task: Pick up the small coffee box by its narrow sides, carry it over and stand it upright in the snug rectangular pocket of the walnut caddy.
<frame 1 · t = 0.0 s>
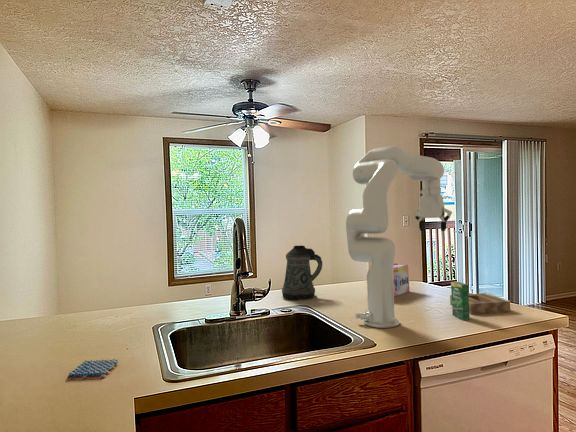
hand: (432, 230, 175), 31 cm above the worktop, tool pointing down, fingers open, 9 cm apart
gum box: (390, 295, 191), on the worktop
walnut caddy: (479, 308, 160), on the worktop
beer stein: (301, 296, 194), on the worktop
woven mat: (94, 374, 109), on the worktop
coffee box: (460, 318, 148), on the worktop
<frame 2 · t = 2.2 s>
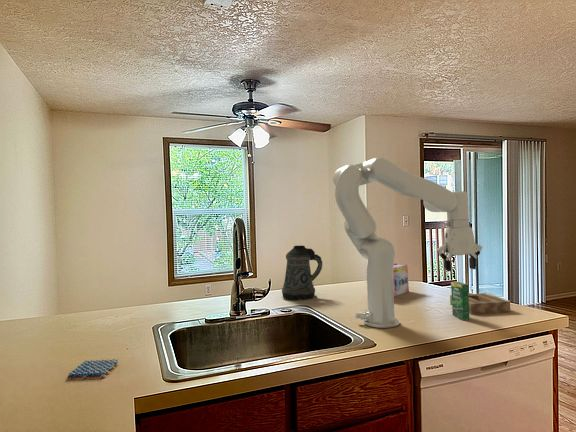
hand: (460, 269, 148), 18 cm above the worktop, tool pointing down, fingers open, 9 cm apart
nothing on the worktop moved.
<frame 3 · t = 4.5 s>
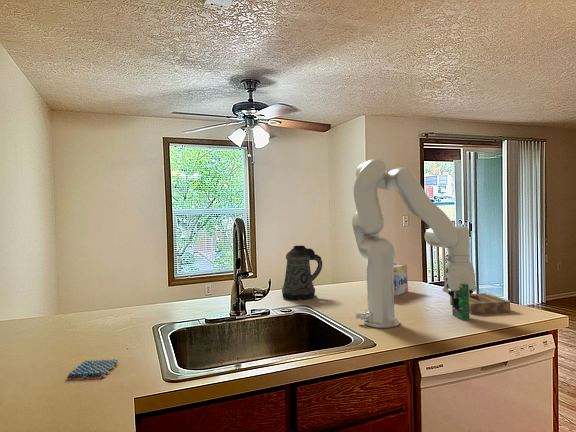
hand: (460, 307, 148), 4 cm above the worktop, tool pointing down, fingers closed on coffee box, 3 cm apart
coffee box: (460, 317, 148), on the worktop, touching gripper
everything else where it was.
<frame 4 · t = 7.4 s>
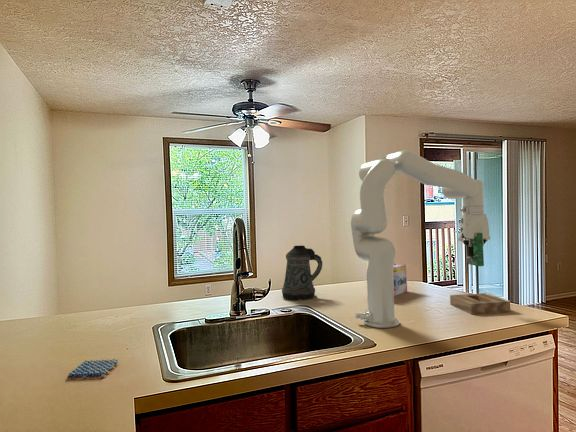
hand: (474, 255, 158), 22 cm above the worktop, tool pointing down, fingers closed on coffee box, 3 cm apart
coffee box: (475, 265, 158), point 18 cm above the worktop, touching gripper
everything else where it was.
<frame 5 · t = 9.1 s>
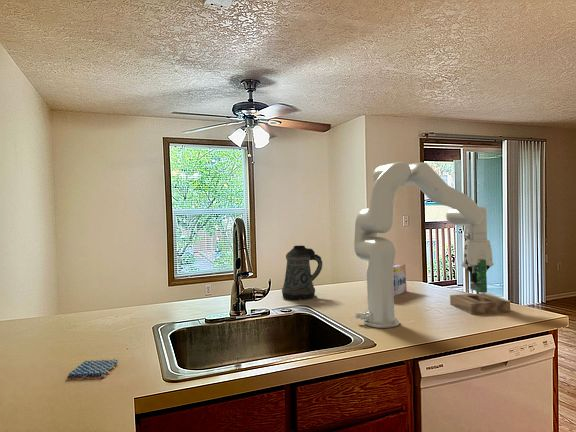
hand: (478, 281, 160), 11 cm above the worktop, tool pointing down, fingers closed on coffee box, 3 cm apart
coffee box: (478, 291, 160), point 7 cm above the worktop, touching gripper
when the fingers open (5 cm above the worktop, at t = 10.5 s): coffee box drops 1 cm, resting in walnut caddy.
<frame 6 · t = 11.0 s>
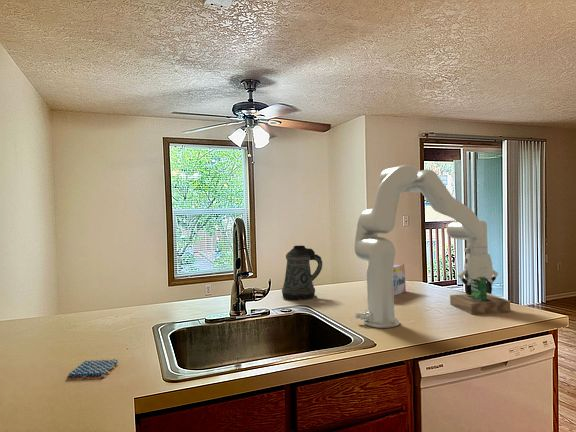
hand: (478, 293, 160), 6 cm above the worktop, tool pointing down, fingers open, 8 cm apart
coffee box: (478, 308, 160), resting in walnut caddy
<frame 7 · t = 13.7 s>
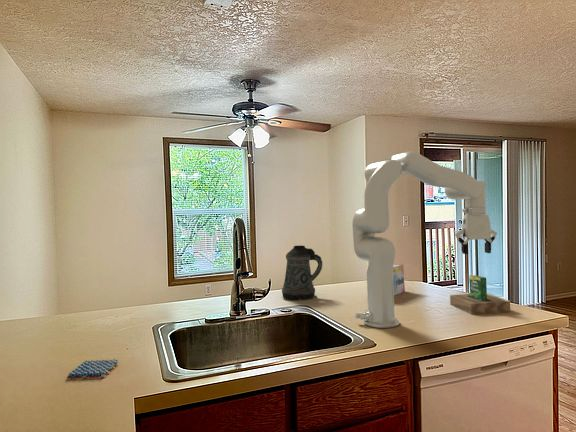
hand: (476, 253, 160), 22 cm above the worktop, tool pointing down, fingers open, 9 cm apart
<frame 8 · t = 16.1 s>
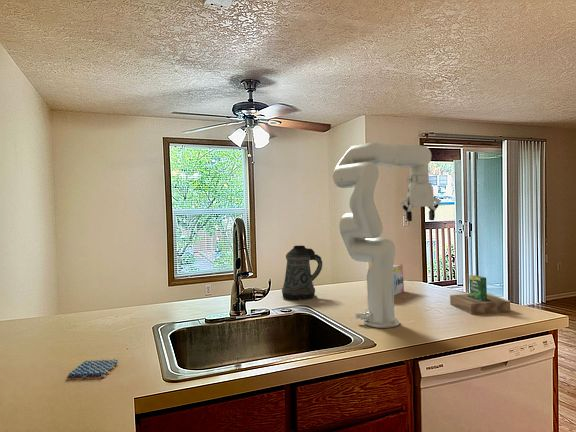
hand: (420, 220, 166), 36 cm above the worktop, tool pointing down, fingers open, 9 cm apart
at the end: coffee box 0.3 cm off-centre on the walnut caddy, point 0.0 cm above the walnut caddy's base; coffee box tilted 0°; the gripper is holding nothing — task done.
